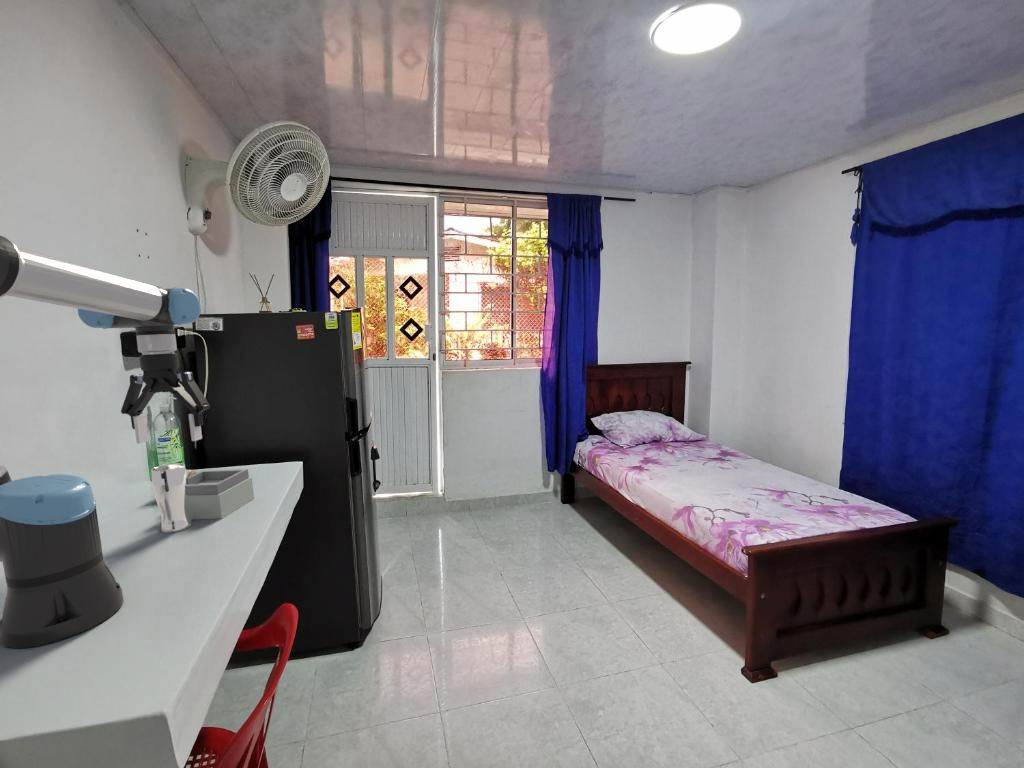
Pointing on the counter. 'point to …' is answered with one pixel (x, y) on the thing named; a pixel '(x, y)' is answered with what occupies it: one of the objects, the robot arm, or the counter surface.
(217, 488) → the grey box with knob
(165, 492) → the beer glass
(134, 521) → the counter surface
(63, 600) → the robot arm
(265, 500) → the counter surface
